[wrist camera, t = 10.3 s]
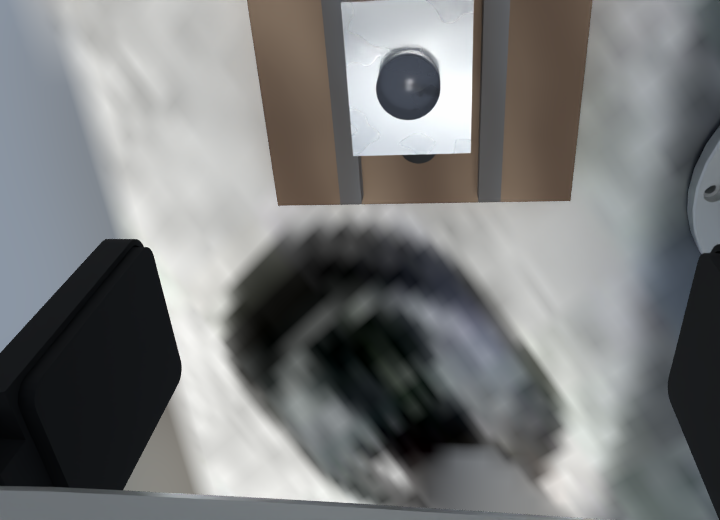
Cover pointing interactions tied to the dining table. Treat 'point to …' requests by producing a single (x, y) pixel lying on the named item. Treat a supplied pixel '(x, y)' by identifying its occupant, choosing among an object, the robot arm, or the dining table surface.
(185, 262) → the dining table surface
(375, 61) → the grey sliding block
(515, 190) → the bolt plate
